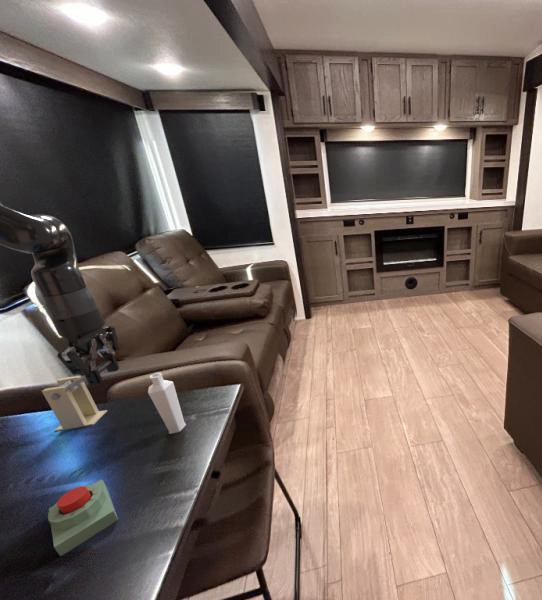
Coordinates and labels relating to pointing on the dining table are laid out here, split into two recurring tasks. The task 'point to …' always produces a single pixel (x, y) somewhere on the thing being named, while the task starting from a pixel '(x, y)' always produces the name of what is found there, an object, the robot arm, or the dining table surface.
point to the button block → (82, 519)
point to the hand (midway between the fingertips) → (105, 377)
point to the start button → (74, 500)
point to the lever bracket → (72, 405)
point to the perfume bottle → (166, 402)
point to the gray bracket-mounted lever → (73, 385)
